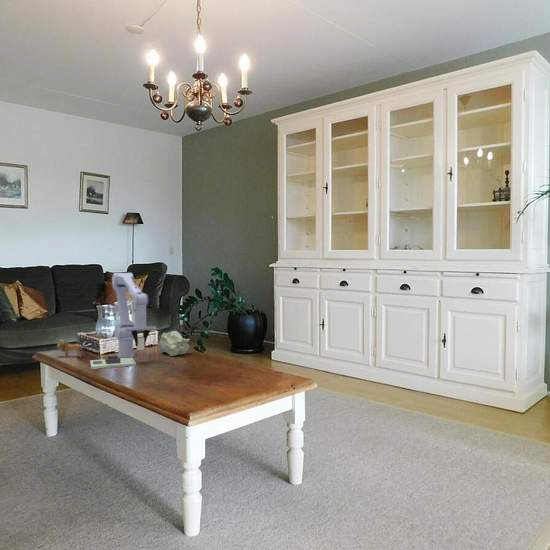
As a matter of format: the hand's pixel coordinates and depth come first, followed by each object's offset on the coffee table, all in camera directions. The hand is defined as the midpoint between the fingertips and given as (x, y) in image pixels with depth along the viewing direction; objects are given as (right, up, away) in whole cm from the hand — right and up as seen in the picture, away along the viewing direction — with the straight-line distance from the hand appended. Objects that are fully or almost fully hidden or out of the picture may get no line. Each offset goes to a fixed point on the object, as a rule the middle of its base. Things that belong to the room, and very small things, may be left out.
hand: (140, 345), depth 241 cm
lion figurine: (-40, -8, +13) cm, 43 cm away
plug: (0, -2, 0) cm, 2 cm away
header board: (-12, -8, -4) cm, 15 cm away
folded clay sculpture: (+12, -8, +21) cm, 26 cm away
